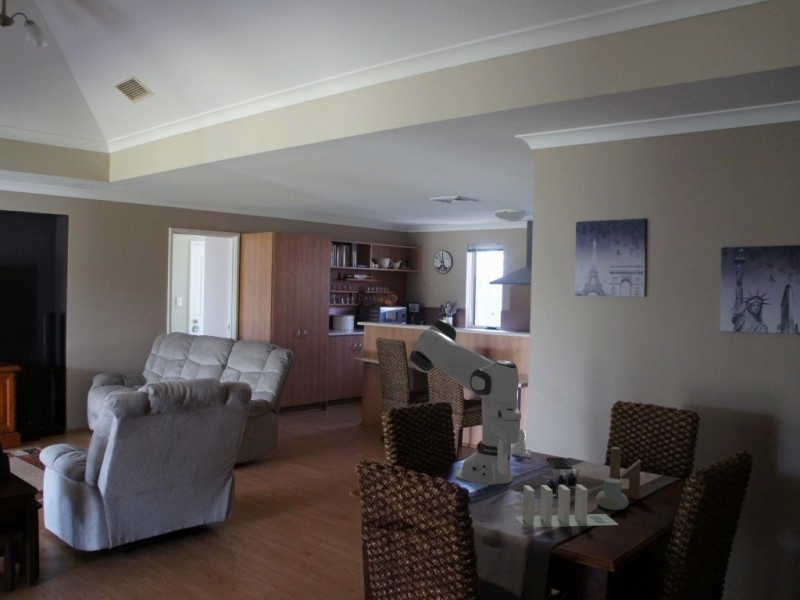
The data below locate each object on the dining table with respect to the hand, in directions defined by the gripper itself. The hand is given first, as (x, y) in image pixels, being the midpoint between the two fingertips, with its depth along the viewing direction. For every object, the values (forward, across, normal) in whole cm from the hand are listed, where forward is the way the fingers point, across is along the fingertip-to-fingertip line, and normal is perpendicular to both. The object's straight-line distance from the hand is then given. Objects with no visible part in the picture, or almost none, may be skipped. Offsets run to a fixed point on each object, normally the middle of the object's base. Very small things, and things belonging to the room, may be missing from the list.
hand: (502, 450), depth 227 cm
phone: (+23, -62, +46) cm, 81 cm away
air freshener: (+23, -5, +42) cm, 48 cm away
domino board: (+22, +8, +20) cm, 31 cm away
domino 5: (+21, +8, +25) cm, 34 cm away
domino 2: (+21, +8, +7) cm, 24 cm away
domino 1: (+7, 0, 0) cm, 7 cm away
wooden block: (+23, -18, +53) cm, 60 cm away
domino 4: (+21, +8, +19) cm, 29 cm away
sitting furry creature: (+23, -78, +34) cm, 88 cm away
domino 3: (+21, +8, +13) cm, 26 cm away
